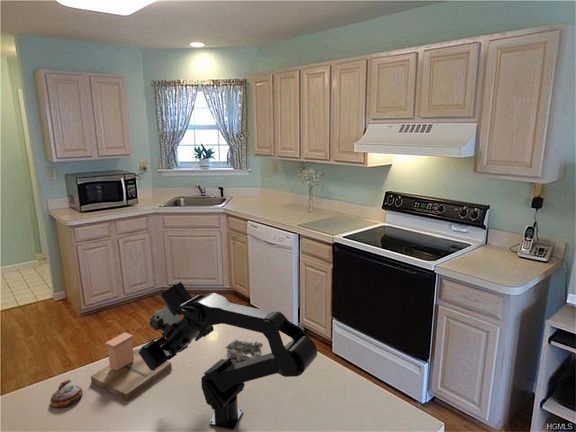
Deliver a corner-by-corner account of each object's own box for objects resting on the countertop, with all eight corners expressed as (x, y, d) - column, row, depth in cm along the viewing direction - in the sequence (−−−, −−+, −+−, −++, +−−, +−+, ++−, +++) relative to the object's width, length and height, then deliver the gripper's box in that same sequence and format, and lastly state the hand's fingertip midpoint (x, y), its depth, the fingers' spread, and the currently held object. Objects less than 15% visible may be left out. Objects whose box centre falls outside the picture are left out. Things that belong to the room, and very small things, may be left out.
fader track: (171, 368, 119) (171, 362, 119) (127, 400, 106) (126, 393, 105) (137, 354, 126) (136, 348, 126) (91, 382, 113) (90, 376, 112)
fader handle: (135, 359, 119) (133, 335, 117) (116, 371, 114) (113, 346, 112) (127, 356, 121) (124, 332, 119) (108, 368, 116) (105, 342, 114)
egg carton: (264, 354, 127) (264, 343, 126) (251, 367, 120) (251, 355, 119) (237, 345, 132) (237, 334, 131) (223, 357, 125) (222, 345, 124)
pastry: (74, 386, 112) (71, 370, 110) (89, 396, 108) (87, 380, 107) (44, 403, 105) (41, 386, 104) (59, 414, 101) (57, 397, 100)
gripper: (195, 288, 109) (169, 316, 117) (139, 317, 93) (114, 347, 101) (219, 321, 107) (191, 347, 115) (167, 357, 91) (139, 384, 99)
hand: (160, 355), depth 107 cm, fingers closed
